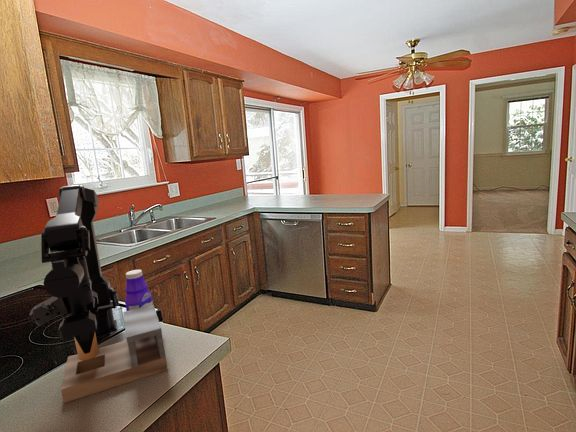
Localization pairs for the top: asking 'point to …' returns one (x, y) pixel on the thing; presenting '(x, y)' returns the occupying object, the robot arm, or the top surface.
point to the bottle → (137, 291)
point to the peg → (92, 353)
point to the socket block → (119, 358)
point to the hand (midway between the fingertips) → (87, 348)
